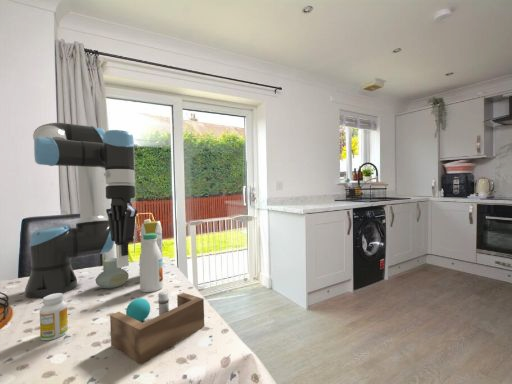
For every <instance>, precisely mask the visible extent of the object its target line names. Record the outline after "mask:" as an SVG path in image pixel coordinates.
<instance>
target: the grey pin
mask: <svg viewBox="0 0 512 384" xmlns="http://www.w3.org/2000/svg"><path fill="white" fill-rule="evenodd" d="M169 300H170V299H169V292H168V291H165V290H164V291H160V292H159V293H158V316H159V315H161V314H163V313H165V312H168V311H170V306H169V302H170V301H169Z"/></svg>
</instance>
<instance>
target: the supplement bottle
mask: <svg viewBox="0 0 512 384" xmlns="http://www.w3.org/2000/svg"><path fill="white" fill-rule="evenodd" d="M42 304H43V305H42V306H41V308H40V309H39V328H40V330H39V333H40V339H41V341H51V340H52V341H53V340H55V339H59V338H60V337H63V336H64V335H65V334H66V333H67V332H68V330H69V328H68V327H69V323H68V321H69V320H68V303H67V302H66V301H64V292H63V293H56V294H51V295H48V296H46V297H42Z"/></svg>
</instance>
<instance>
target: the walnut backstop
mask: <svg viewBox="0 0 512 384" xmlns="http://www.w3.org/2000/svg"><path fill="white" fill-rule="evenodd" d="M176 296H177V297H176V301H177V302H176V303H177V306H176V307H174V308H172V309H169V311H168V312H165V313H163V314H161V315H159V314H158V316H155V317H153V318H150V319H149V320H147V321H145V322H144V321H141V322H140V321H138V320H136V319H134V318H132V317H129V316H127V315H126V313H123V312H121V311H117V312H115V313H114V312H113V313H112V314H110V315H109V319H110V320H109V321H110V346H111V347H112V348H114V349H116V350H117V351H119V352H120V353H121V354H124V355H125V356H127V357H128V358H129V359H131V360H133V361H135V362H136V363H138V364H139V365H143V364H144V363H146V362H147V361H149V360H151V359H152V358H154V357H156V356H157V355H159V354H160V353H162V352H164V351H166V350H167V349H169V348H171V347H172V346H175V344H177V343H178V342H180V341H182V340H183V339H186V338H187V337H189V336H190V335H192V334H194V333H195V332H197V331H199V330H200V329H202V328H203V327H205V304H204V303H205V302H204V301H205V300H204V299H205V298H202V297H198V296H195V295H193V294H189V293H185V292H180V293H179V294H177V295H176Z"/></svg>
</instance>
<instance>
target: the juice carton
mask: <svg viewBox="0 0 512 384" xmlns="http://www.w3.org/2000/svg"><path fill="white" fill-rule="evenodd" d="M149 233H156V234H157V240H156V242H157V245H158V247H159V249H160V251H161V254H162V268H163V265H164V261H163V260H164V259H163V258H164V257H163V228H162V223H161V221H160V220H153V221H152V220H151V219H150V218H148V219H144V220H143V222H142V223H141V227H140V250H141V251H142V249H143V246H144V239H143V235H144V234H149ZM141 251H140V252H141Z"/></svg>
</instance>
